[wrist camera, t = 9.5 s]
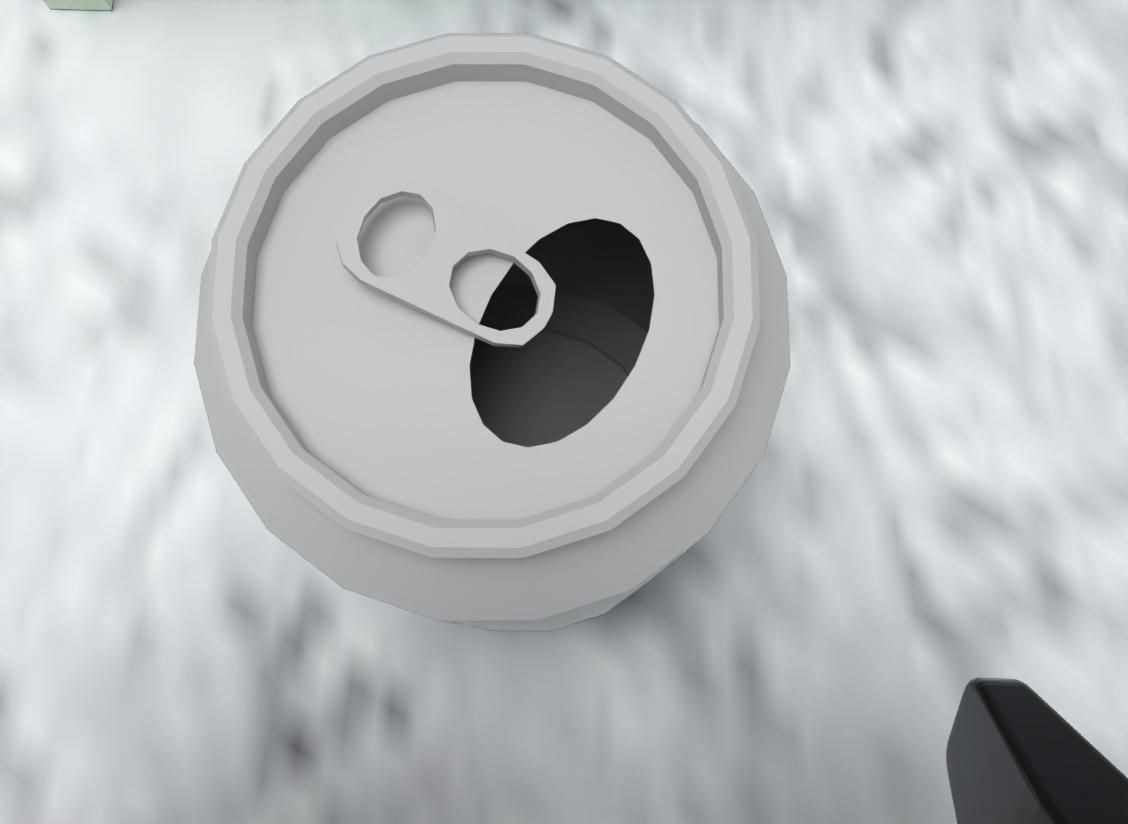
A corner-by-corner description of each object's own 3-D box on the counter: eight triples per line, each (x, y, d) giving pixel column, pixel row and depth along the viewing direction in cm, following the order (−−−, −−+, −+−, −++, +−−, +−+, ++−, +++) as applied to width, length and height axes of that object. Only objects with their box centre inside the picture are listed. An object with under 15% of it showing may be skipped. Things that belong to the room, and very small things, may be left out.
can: (601, 697, 22) (634, 754, 11) (292, 532, 23) (5, 416, 11) (753, 388, 24) (932, 135, 12) (458, 243, 24) (354, -127, 13)
